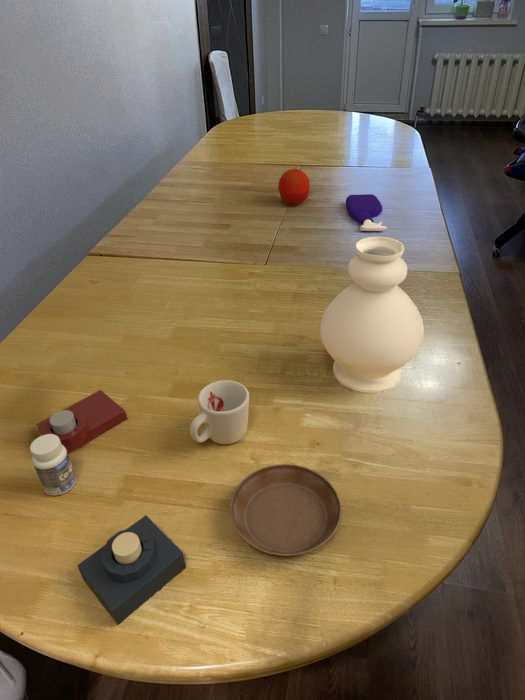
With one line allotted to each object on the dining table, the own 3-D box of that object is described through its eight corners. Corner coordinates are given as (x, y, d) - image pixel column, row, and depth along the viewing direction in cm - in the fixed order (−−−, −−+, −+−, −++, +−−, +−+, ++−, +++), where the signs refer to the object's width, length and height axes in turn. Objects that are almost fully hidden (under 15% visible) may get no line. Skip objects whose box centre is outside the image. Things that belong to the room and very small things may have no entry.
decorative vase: (339, 335, 106) (345, 218, 91) (426, 357, 99) (449, 233, 84) (303, 385, 93) (305, 259, 79) (401, 414, 86) (423, 281, 72)
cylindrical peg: (124, 569, 60) (121, 561, 59) (109, 552, 62) (106, 544, 61) (147, 551, 62) (144, 543, 61) (132, 535, 64) (129, 527, 63)
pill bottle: (71, 496, 75) (55, 456, 70) (39, 496, 75) (21, 456, 70) (81, 471, 79) (66, 431, 74) (50, 471, 79) (34, 431, 74)
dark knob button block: (117, 625, 59) (108, 602, 57) (83, 580, 64) (73, 556, 61) (186, 567, 65) (181, 543, 62) (149, 529, 70) (143, 506, 67)
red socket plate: (61, 464, 80) (54, 446, 78) (34, 435, 85) (27, 417, 83) (131, 422, 87) (127, 404, 85) (102, 398, 92) (97, 380, 90)
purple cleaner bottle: (344, 194, 166) (353, 225, 146) (378, 193, 165) (392, 224, 146) (343, 203, 167) (353, 235, 148) (377, 202, 167) (391, 233, 147)
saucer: (278, 460, 79) (278, 447, 77) (361, 511, 71) (362, 499, 69) (209, 523, 70) (207, 511, 69) (294, 591, 62) (294, 578, 60)
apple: (312, 207, 166) (313, 171, 159) (281, 210, 165) (281, 173, 158) (306, 197, 174) (306, 162, 167) (276, 199, 173) (275, 164, 166)
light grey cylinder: (59, 438, 79) (56, 429, 78) (48, 427, 82) (45, 418, 80) (80, 426, 82) (77, 417, 80) (69, 415, 84) (66, 406, 82)
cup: (212, 469, 78) (206, 431, 73) (179, 443, 83) (172, 406, 78) (261, 431, 84) (259, 394, 79) (228, 409, 89) (224, 373, 84)
